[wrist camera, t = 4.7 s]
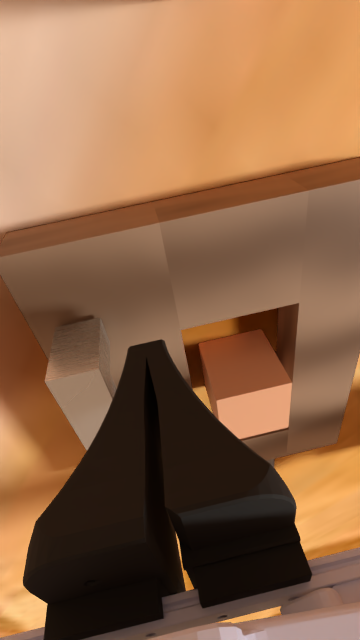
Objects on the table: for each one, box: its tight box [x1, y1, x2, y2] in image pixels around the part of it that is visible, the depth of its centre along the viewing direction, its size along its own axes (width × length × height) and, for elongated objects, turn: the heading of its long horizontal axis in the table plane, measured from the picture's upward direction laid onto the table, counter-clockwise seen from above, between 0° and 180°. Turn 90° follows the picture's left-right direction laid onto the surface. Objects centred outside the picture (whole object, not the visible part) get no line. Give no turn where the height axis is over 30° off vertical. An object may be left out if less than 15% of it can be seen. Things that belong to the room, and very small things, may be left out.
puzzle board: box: [0, 157, 360, 461], centre depth 20 cm, size 20×16×2 cm
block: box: [198, 329, 292, 439], centre depth 20 cm, size 4×4×4 cm
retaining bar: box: [45, 317, 117, 450], centre depth 18 cm, size 15×2×3 cm, turn 9°
